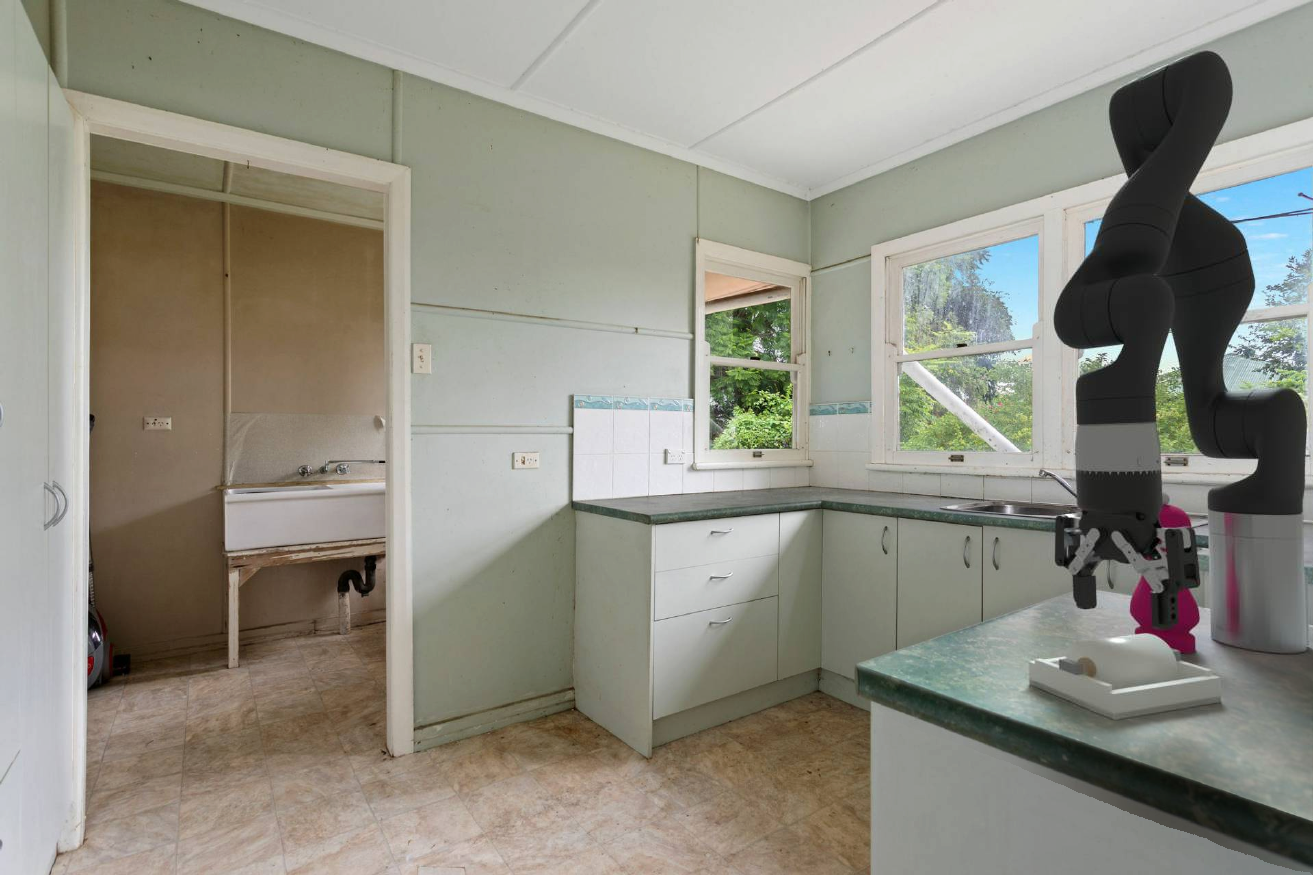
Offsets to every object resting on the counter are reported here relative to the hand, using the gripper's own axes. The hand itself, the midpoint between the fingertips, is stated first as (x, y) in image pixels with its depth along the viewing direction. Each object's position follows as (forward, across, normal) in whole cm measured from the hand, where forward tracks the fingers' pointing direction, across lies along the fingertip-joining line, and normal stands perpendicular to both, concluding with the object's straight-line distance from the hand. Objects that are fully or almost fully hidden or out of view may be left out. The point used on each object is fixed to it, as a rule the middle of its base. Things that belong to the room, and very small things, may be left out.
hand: (1122, 617), depth 70 cm
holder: (+8, 0, 0) cm, 8 cm away
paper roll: (+7, 0, +1) cm, 7 cm away
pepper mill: (+9, +10, -20) cm, 24 cm away
